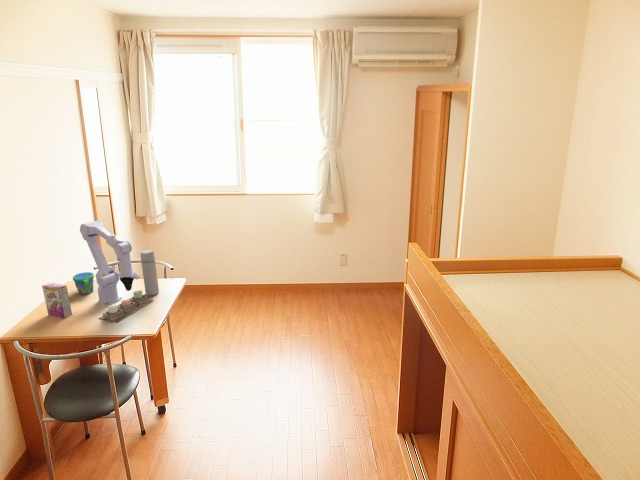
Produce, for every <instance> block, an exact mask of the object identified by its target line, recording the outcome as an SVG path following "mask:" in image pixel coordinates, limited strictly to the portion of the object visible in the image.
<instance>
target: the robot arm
mask: <svg viewBox="0 0 640 480" xmlns="http://www.w3.org/2000/svg"><path fill="white" fill-rule="evenodd" d="M79 232H80V234H81V236H82V238H83V240H84V241H86V243H87V245H88V246H87V247H88V248H89V250H90V253H91V255H92V259H93V260H94V262H95V265H96V266H97V268H98V271H97V272H96V273H95V278H96V283H97V285H98V287H97V294H98V300H97V301H98V303H104V304H109V305H113V304H116V302H118V301H120V300H123V297H121V296H119V293H118V288H117V287H118V286H117V284H118V282H121V283H122V284H123V285H124V288H125V290H126V291H127V292H129V291H131V290H132V286H133V283H134V281H135V280H139V279H140V274H138V273H136V272H133V266H132V259H131V252H132V250H133V249H132V248H133V247H132V245H131V243H130V242H129V241H127V240H126V241H125V240H122V239H121V238H120V237H118V235H116V234H112V233H110V231H108V230H107V229H106V228H105V226H104V223H103V222H102V221H101V220H99V219H97V220H93V221H90V222H86V223H81V224H80V226H79ZM99 237H101V238H103V239H104V240H105V242H106V244H107V245H108V246H109V247H110V248H112V249H113V250H114V253H115V255H116V258H117V260H118V266H119V270H116V269H115V267H112V266H111V267H110V265H109V263H108V262H107V259H106V256H105V254H104V252H103V250H102V247H101V245H100V243H99V241H98V238H99Z"/></svg>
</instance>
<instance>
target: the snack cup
mask: <svg viewBox="0 0 640 480" xmlns="http://www.w3.org/2000/svg"><path fill="white" fill-rule="evenodd" d="M94 277H95V274H94V273H93V272H89V271H88V272H79V273H77V274H75V275H73V276H72V281H74V284H75V287H76V290H77V293H78V294H79V295H88V294H90V293H93V292H94Z"/></svg>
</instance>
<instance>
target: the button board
mask: <svg viewBox="0 0 640 480" xmlns="http://www.w3.org/2000/svg"><path fill="white" fill-rule="evenodd" d="M128 300H130V301H131V305H130V306H128V307H123V306H122V304H121V303H119V304H116V305H117V307H118V313H116V314H114V315H111V314H109V313H108V310H107V311H105V312H104V313H102V315H101V316H99V317H98V320H101V321H106V322H107V321H108V322H112V323H116V324H117V323H120V322H122V321H123V320H125V319H126V318H128V317H129V316H131V315H132V314H134V313H136V312H138V311H139V310H141V309H142V308H144V307H146V306H148V305H149V304H151V303H153V302H154V300H153V299H149V295H147V294H146V295H145V294H143V298H142V299H140V300H136V299H134V295H133V296H132V297H130V298H128Z"/></svg>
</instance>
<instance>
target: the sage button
mask: <svg viewBox="0 0 640 480" xmlns="http://www.w3.org/2000/svg"><path fill="white" fill-rule="evenodd" d="M143 295H144V294H143V290H134V291H133V296H134V299H136V300H140V299H142V298H143Z"/></svg>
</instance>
